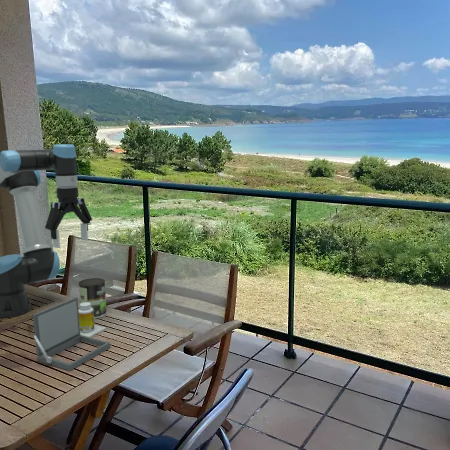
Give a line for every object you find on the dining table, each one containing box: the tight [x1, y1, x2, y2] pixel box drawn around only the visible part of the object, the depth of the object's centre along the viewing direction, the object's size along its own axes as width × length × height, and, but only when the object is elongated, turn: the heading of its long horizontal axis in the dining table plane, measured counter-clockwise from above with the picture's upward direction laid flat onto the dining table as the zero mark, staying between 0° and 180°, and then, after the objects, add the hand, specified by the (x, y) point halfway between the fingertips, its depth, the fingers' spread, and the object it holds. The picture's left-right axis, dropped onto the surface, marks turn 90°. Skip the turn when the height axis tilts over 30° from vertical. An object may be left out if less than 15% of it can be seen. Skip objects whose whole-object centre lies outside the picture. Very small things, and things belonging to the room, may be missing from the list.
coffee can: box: [78, 277, 108, 320], centre depth 180 cm, size 10×10×14 cm
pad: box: [80, 324, 107, 338], centre depth 165 cm, size 10×10×1 cm
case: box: [32, 296, 111, 372], centre depth 146 cm, size 15×19×16 cm
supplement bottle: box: [78, 302, 95, 332], centre depth 164 cm, size 6×6×10 cm
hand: (71, 243), depth 165 cm, fingers open, 13 cm apart
